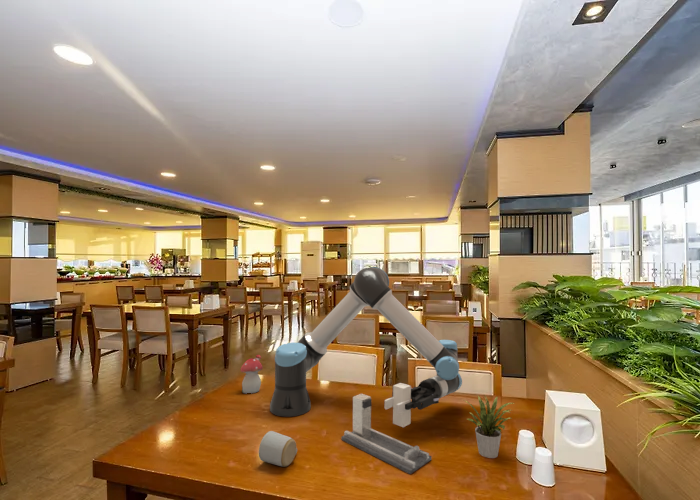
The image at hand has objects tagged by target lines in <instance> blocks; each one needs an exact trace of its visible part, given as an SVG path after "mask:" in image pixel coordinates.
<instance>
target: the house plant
mask: <svg viewBox="0 0 700 500" xmlns="http://www.w3.org/2000/svg"><path fill="white" fill-rule="evenodd" d="M483 395H484V397H483V398H484V401H483V400H482V398H481V397H480V395H477V398H478V399H477V400H478V403H479V408H480V410H479V412H480V413H479V412H478V410H477V409H476V407H474V405H472V403H470V402H469V401H468V400H465V399H463V401H465V402H466V403H467V404H468V405H470V407H471V408H472V409H473V410H474V412H475V414H476V415H477V416H476V415H474V414H473V413H472V412H469V414H470V415H471V416H472V418H467V420H468V421H470V422H472V423H473V424H475V425H476V427H475V431H474V432H475V437H476V443H477V449H478V454H479V455H480V456H482V457H484V458H489V459H495V458H498V455H499V449H500V445H501V437H502V433H503V432H502V430H505V428H506V426H505V425H504V424H503V423H504V422H505V421H506V422H507V421H508V419H509V420H510V419H511V417H507V418H504V417H503V415H504V414H506V413H510V414H511V412H510V409H506V410H503V409H504V408H505V407H507V406H508V405H512V404H514V402H506V403H504V404H502V405H501V406H500V407H499V408H498V409H497V410H496V408H497V405H498V399H499V398H498V396H496V397H495V398H494V399H493V402H492V405H491V406H490V401H489V399H488V398H487V396H486V395H485V394H483ZM495 412H496V413H495ZM499 421H500V422H499ZM498 422H499V423H498ZM497 423H498V425H497ZM501 428H502V429H501Z"/></svg>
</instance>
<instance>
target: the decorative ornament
mask: <svg viewBox="0 0 700 500" xmlns="http://www.w3.org/2000/svg"><path fill="white" fill-rule="evenodd" d="M261 359H262V356H261V355H260V354H256V355H255V358H253V357H252V358H248V359H247V360H246V361H245V362H243V364H242V365H241V367H240V372H241V373H245V375H244V376H243V380H242V382H241V388H242V389H241V392H242V394H247V393H251V394H255V393H257V392H260V389H261V384H262V380H261V377H260V375H259V372H260V371H262V370H263V365H262V363H261V362H260V360H261Z"/></svg>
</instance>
